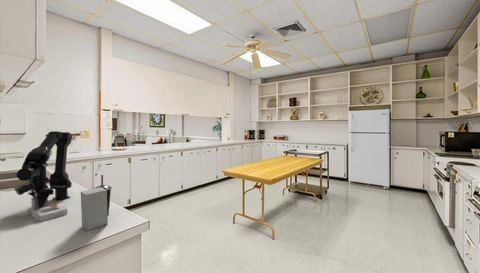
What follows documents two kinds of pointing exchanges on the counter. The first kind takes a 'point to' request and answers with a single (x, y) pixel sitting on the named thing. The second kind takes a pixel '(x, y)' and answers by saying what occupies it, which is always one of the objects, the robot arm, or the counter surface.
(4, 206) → the counter surface
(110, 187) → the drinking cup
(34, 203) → the plug
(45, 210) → the socket
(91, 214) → the skincare box
